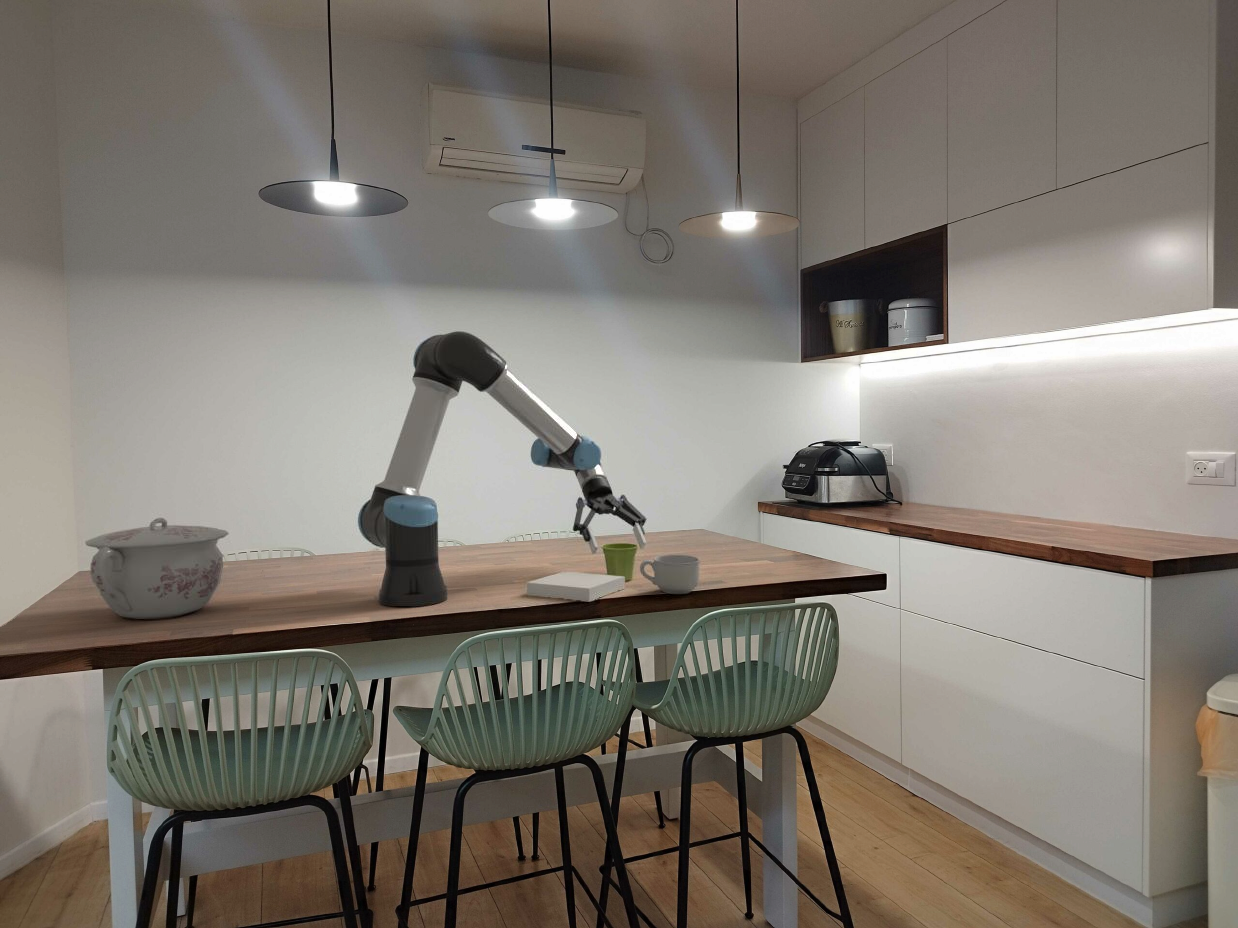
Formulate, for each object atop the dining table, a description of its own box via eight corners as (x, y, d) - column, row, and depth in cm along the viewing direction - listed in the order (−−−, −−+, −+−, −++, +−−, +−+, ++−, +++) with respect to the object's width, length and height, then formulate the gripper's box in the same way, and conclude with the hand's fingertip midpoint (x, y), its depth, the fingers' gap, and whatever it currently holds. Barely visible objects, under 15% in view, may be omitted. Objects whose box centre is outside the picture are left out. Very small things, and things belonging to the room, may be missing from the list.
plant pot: (646, 579, 218) (646, 545, 218) (621, 584, 211) (620, 549, 211) (619, 575, 224) (619, 541, 224) (594, 580, 218) (593, 546, 217)
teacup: (700, 587, 207) (700, 554, 206) (700, 596, 196) (699, 561, 195) (642, 587, 208) (641, 554, 208) (638, 596, 197) (638, 561, 197)
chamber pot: (214, 594, 207) (210, 508, 206) (247, 613, 186) (243, 517, 185) (76, 612, 190) (72, 518, 189) (95, 635, 168) (90, 529, 167)
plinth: (526, 595, 200) (526, 582, 200) (565, 583, 214) (565, 571, 214) (589, 601, 192) (589, 588, 192) (625, 589, 206) (624, 576, 206)
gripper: (632, 491, 241) (658, 552, 228) (547, 496, 230) (570, 561, 217) (640, 473, 235) (667, 535, 223) (554, 478, 225) (578, 542, 212)
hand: (619, 548), depth 220 cm, fingers open, 13 cm apart
